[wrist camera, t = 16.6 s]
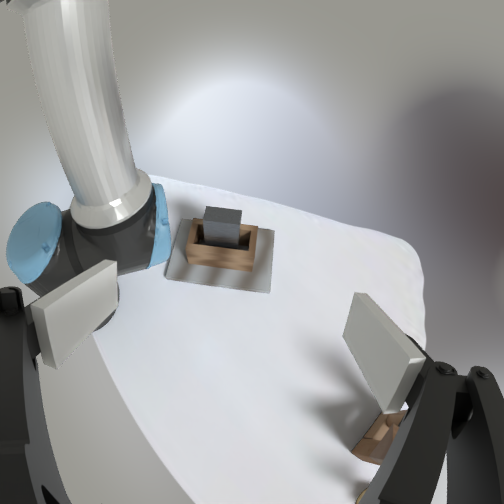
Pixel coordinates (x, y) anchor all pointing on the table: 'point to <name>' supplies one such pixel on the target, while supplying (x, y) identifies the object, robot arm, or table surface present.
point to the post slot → (223, 259)
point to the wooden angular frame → (379, 438)
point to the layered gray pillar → (222, 227)
